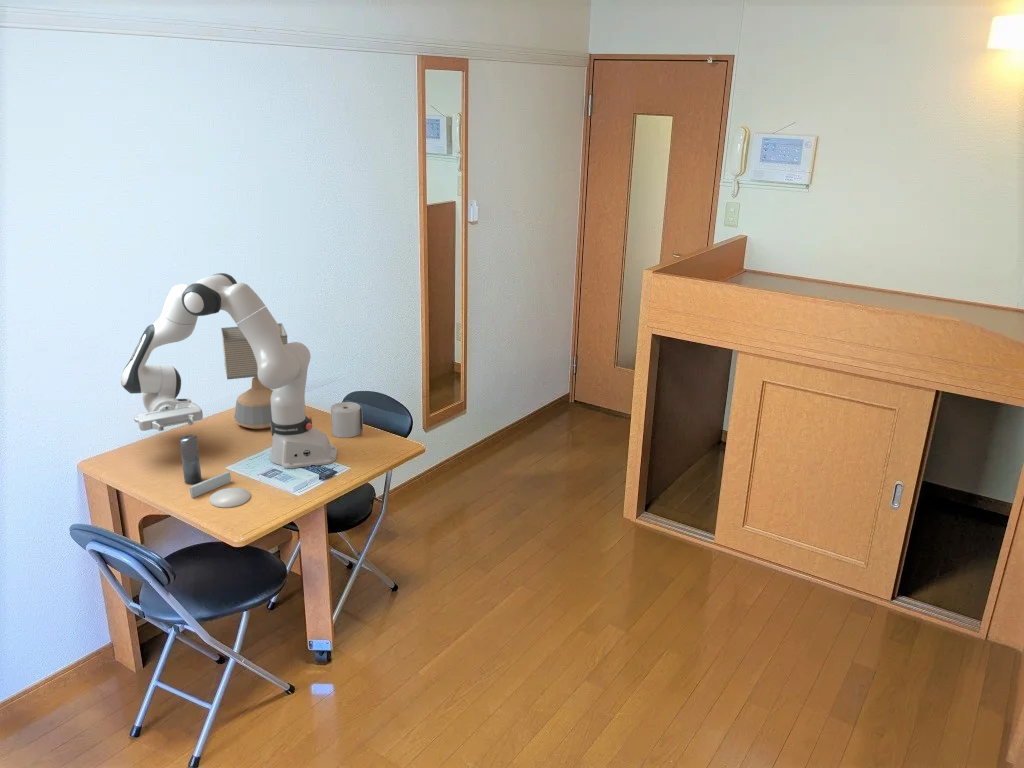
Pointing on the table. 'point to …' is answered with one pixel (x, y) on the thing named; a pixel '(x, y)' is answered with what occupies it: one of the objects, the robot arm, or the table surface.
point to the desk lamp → (242, 364)
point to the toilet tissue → (346, 419)
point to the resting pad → (229, 497)
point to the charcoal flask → (190, 459)
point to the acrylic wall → (210, 484)
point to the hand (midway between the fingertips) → (176, 425)
